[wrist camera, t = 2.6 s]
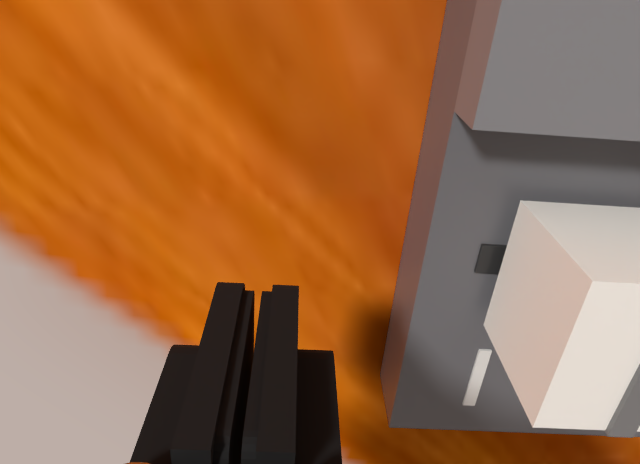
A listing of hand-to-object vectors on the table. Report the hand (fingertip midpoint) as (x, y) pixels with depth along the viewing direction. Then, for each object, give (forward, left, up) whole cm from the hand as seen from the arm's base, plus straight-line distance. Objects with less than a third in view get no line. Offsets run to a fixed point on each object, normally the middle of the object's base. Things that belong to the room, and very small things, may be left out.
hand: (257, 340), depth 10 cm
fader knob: (-8, 0, -3) cm, 9 cm away
